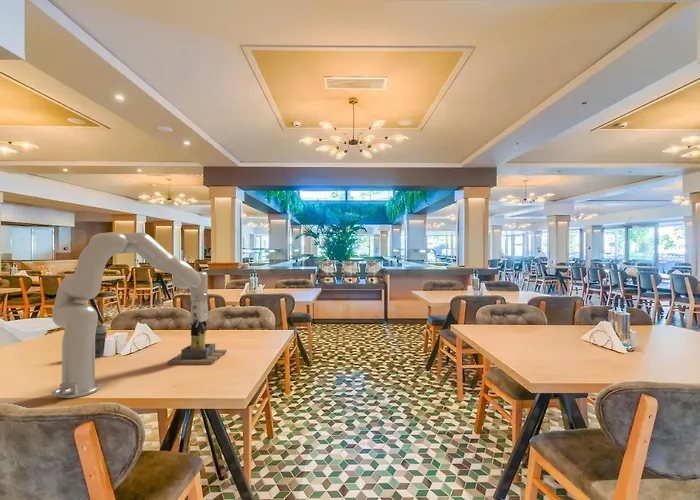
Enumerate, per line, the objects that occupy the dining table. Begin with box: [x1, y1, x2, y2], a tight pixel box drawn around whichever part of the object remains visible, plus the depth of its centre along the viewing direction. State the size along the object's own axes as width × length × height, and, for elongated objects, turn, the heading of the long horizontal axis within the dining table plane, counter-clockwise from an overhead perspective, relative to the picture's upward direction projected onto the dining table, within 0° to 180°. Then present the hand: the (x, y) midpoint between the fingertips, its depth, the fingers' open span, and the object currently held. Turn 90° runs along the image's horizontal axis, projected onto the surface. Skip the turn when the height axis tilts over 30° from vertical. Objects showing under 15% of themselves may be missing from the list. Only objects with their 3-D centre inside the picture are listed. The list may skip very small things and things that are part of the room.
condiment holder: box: [166, 343, 228, 366], centre depth 171 cm, size 20×20×6 cm
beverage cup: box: [95, 324, 108, 359], centre depth 174 cm, size 7×7×20 cm
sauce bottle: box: [190, 322, 207, 349], centre depth 171 cm, size 6×6×20 cm
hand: (198, 333), depth 172 cm, fingers open, 9 cm apart
